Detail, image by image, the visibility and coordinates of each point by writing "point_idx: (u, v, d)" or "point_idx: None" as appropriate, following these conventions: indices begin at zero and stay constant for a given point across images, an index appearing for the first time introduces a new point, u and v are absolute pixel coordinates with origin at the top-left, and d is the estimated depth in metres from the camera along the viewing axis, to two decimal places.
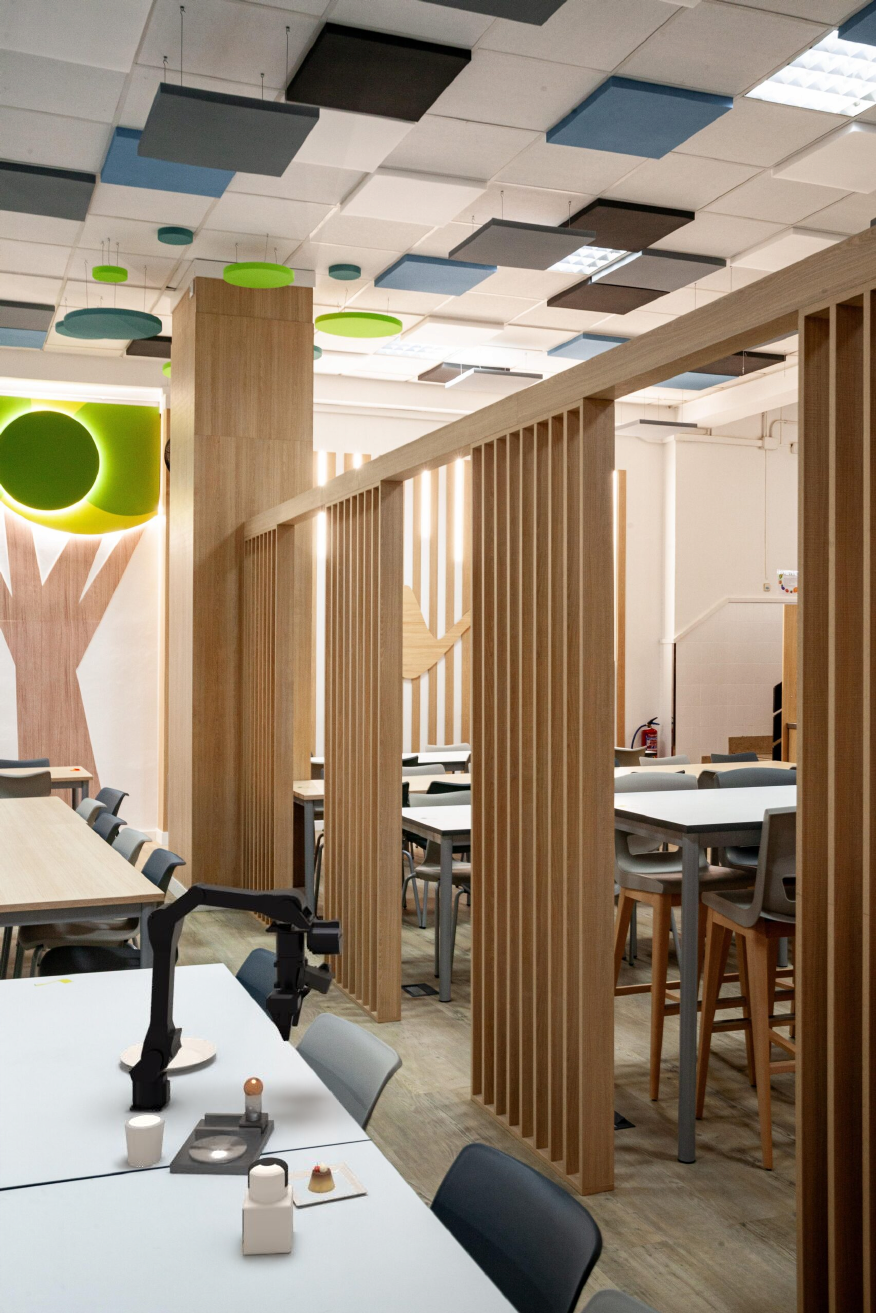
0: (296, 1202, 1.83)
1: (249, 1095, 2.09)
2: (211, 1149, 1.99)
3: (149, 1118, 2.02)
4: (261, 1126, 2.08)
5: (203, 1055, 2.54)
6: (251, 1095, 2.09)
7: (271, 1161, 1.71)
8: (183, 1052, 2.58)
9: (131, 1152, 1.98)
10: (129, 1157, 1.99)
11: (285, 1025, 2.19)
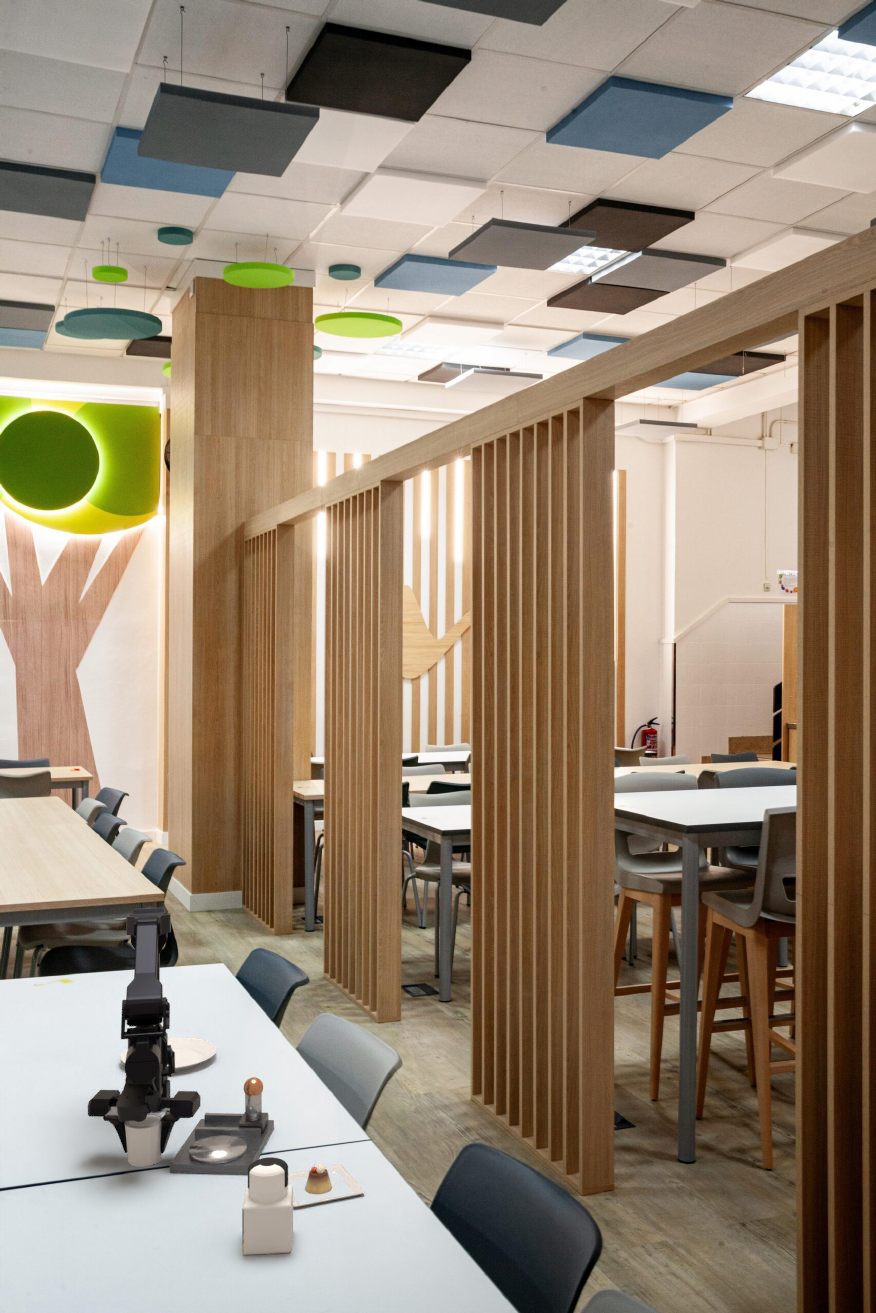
0: (293, 1203, 1.82)
1: (249, 1095, 2.09)
2: (211, 1149, 1.99)
3: (149, 1118, 2.02)
4: (261, 1126, 2.08)
5: (203, 1055, 2.54)
6: (251, 1095, 2.09)
7: (271, 1161, 1.71)
8: (183, 1052, 2.58)
9: (131, 1152, 1.98)
10: (129, 1157, 1.99)
11: None
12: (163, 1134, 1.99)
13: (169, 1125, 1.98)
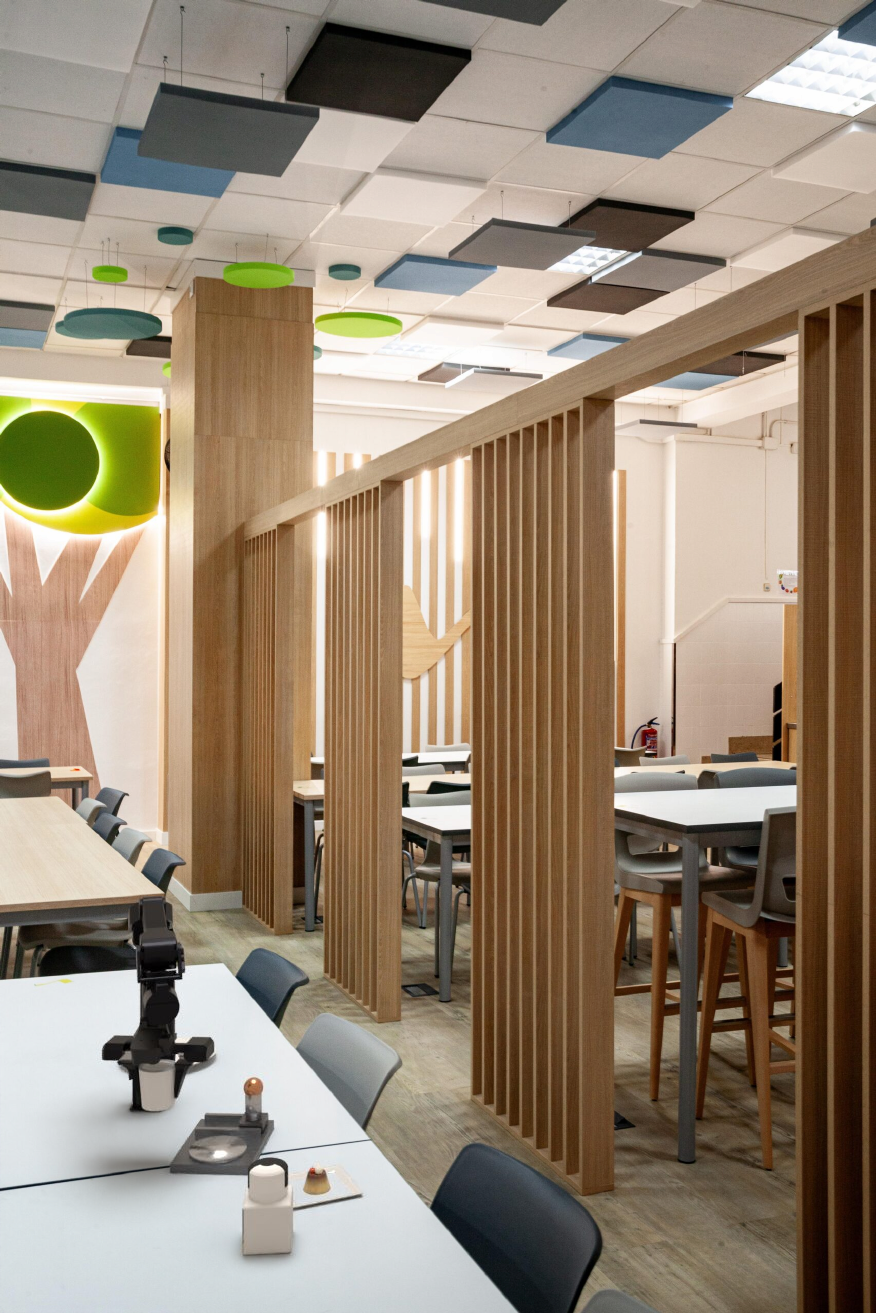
0: None
1: (249, 1095, 2.09)
2: (211, 1149, 1.99)
3: (163, 1063, 2.02)
4: (261, 1126, 2.08)
5: None
6: (251, 1095, 2.09)
7: (271, 1161, 1.71)
8: None
9: (145, 1096, 1.98)
10: (143, 1101, 1.99)
11: None
12: (177, 1079, 1.99)
13: (183, 1070, 1.98)
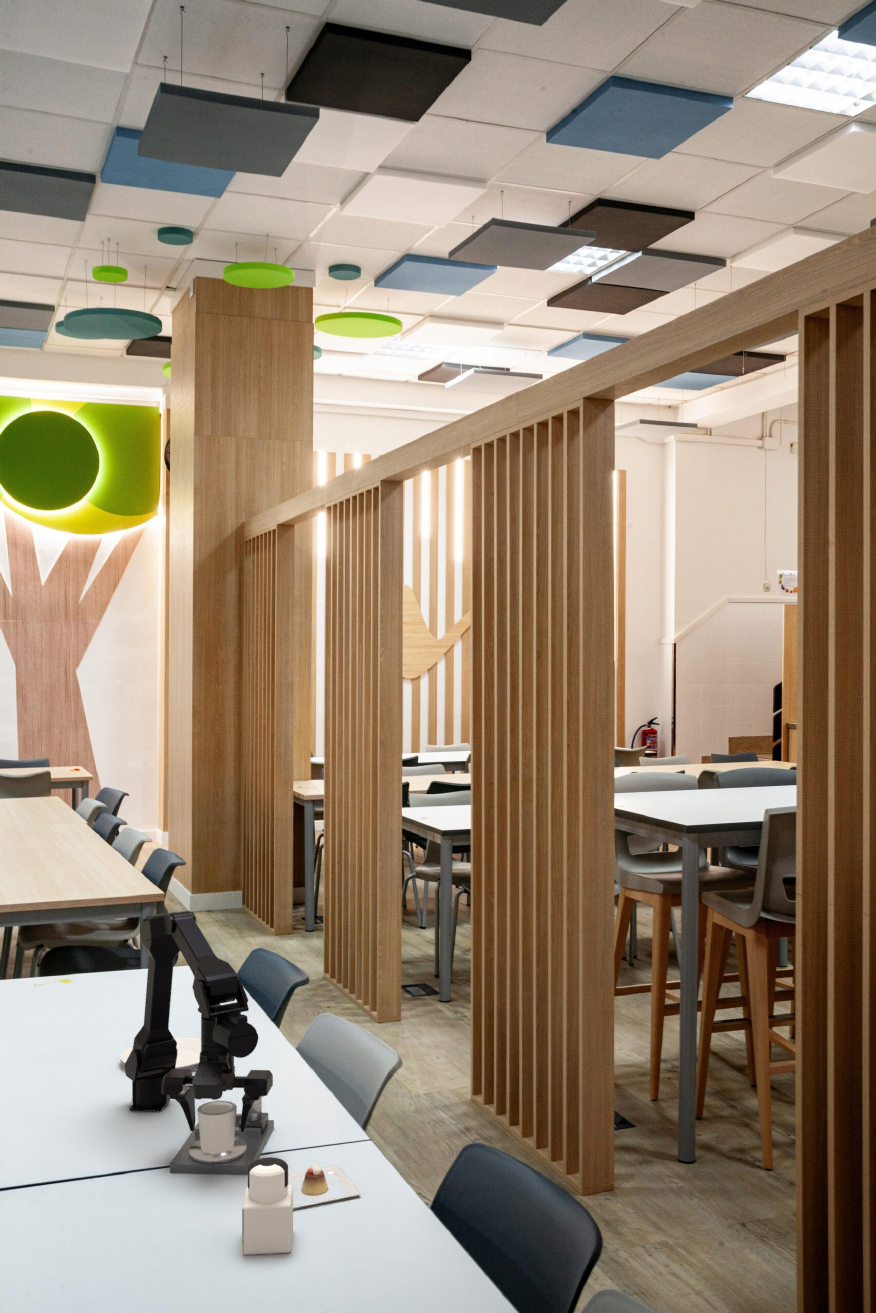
0: None
1: None
2: None
3: (221, 1105, 2.01)
4: (261, 1126, 2.08)
5: None
6: None
7: (271, 1161, 1.71)
8: (183, 1052, 2.58)
9: (204, 1139, 1.98)
10: (202, 1144, 1.98)
11: None
12: (244, 1113, 1.99)
13: (250, 1104, 1.98)
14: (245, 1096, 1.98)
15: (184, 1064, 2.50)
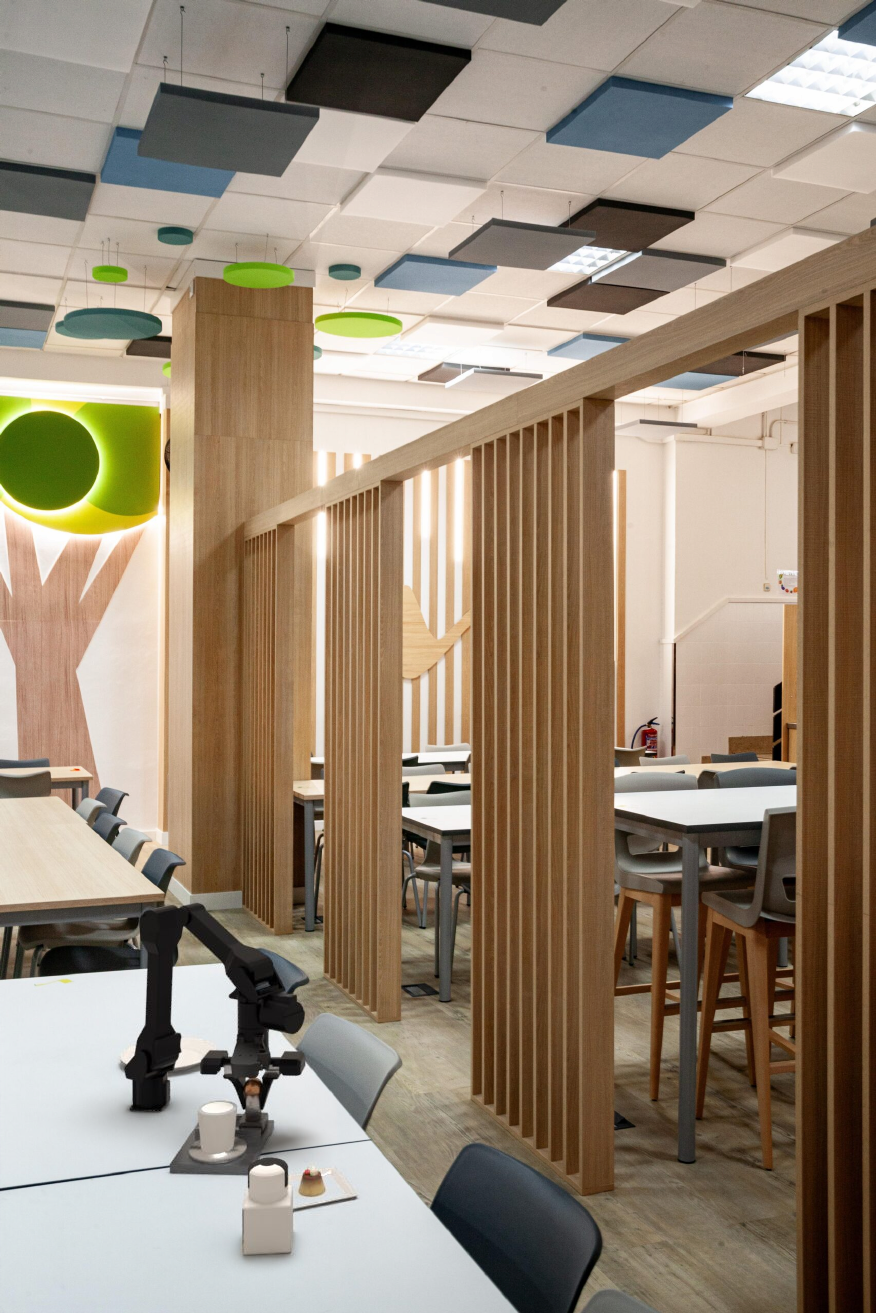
0: None
1: (249, 1095, 2.09)
2: None
3: (221, 1105, 2.01)
4: (261, 1126, 2.08)
5: (203, 1055, 2.54)
6: (251, 1095, 2.09)
7: (271, 1161, 1.71)
8: (183, 1052, 2.58)
9: (205, 1139, 1.98)
10: (202, 1144, 1.98)
11: None
12: (263, 1091, 2.09)
13: (269, 1083, 2.09)
14: (265, 1075, 2.08)
15: (184, 1064, 2.50)
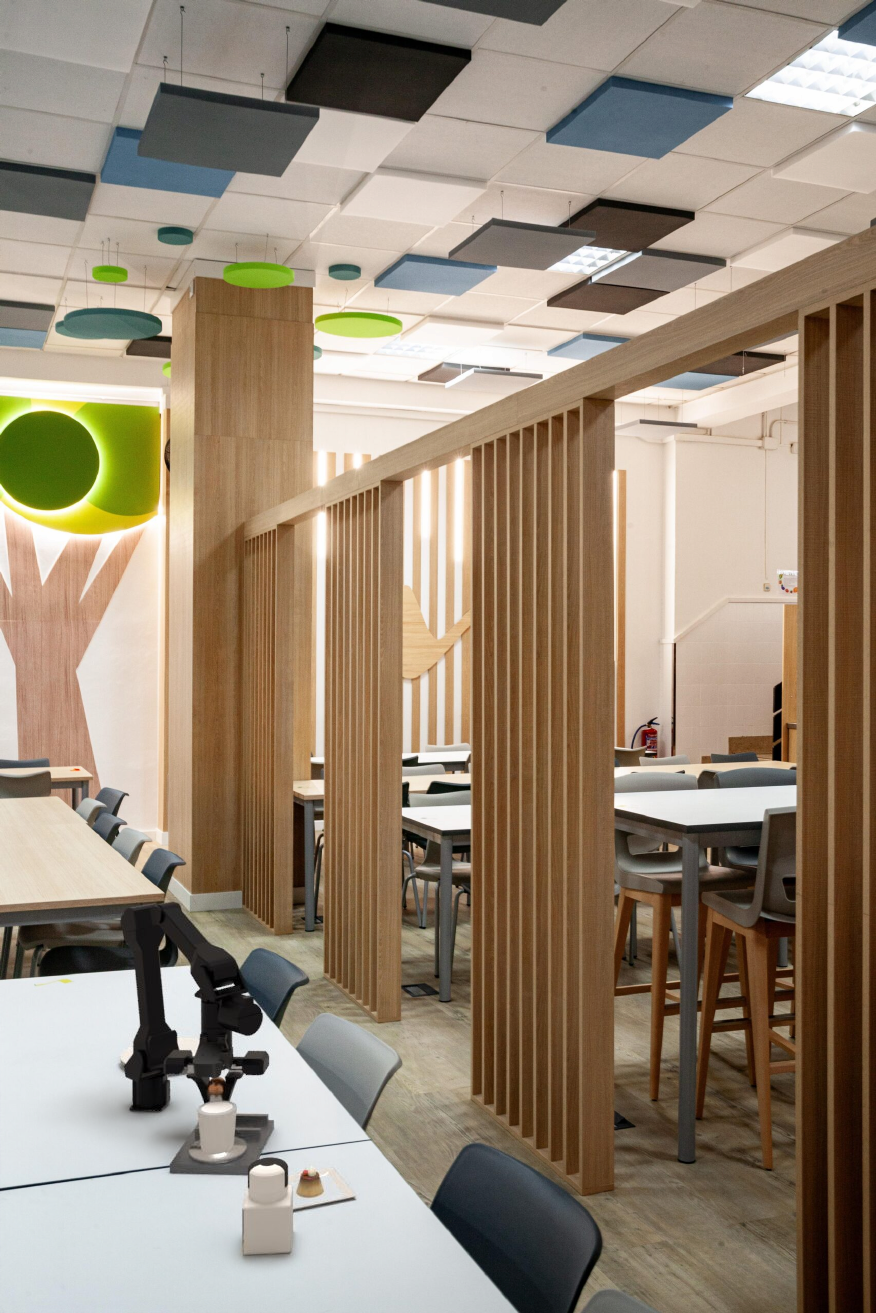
0: None
1: (212, 1094, 2.09)
2: None
3: (221, 1105, 2.01)
4: None
5: None
6: (214, 1095, 2.09)
7: (271, 1161, 1.71)
8: None
9: (205, 1139, 1.98)
10: (202, 1144, 1.98)
11: None
12: (227, 1091, 2.10)
13: (233, 1082, 2.09)
14: (228, 1075, 2.09)
15: None
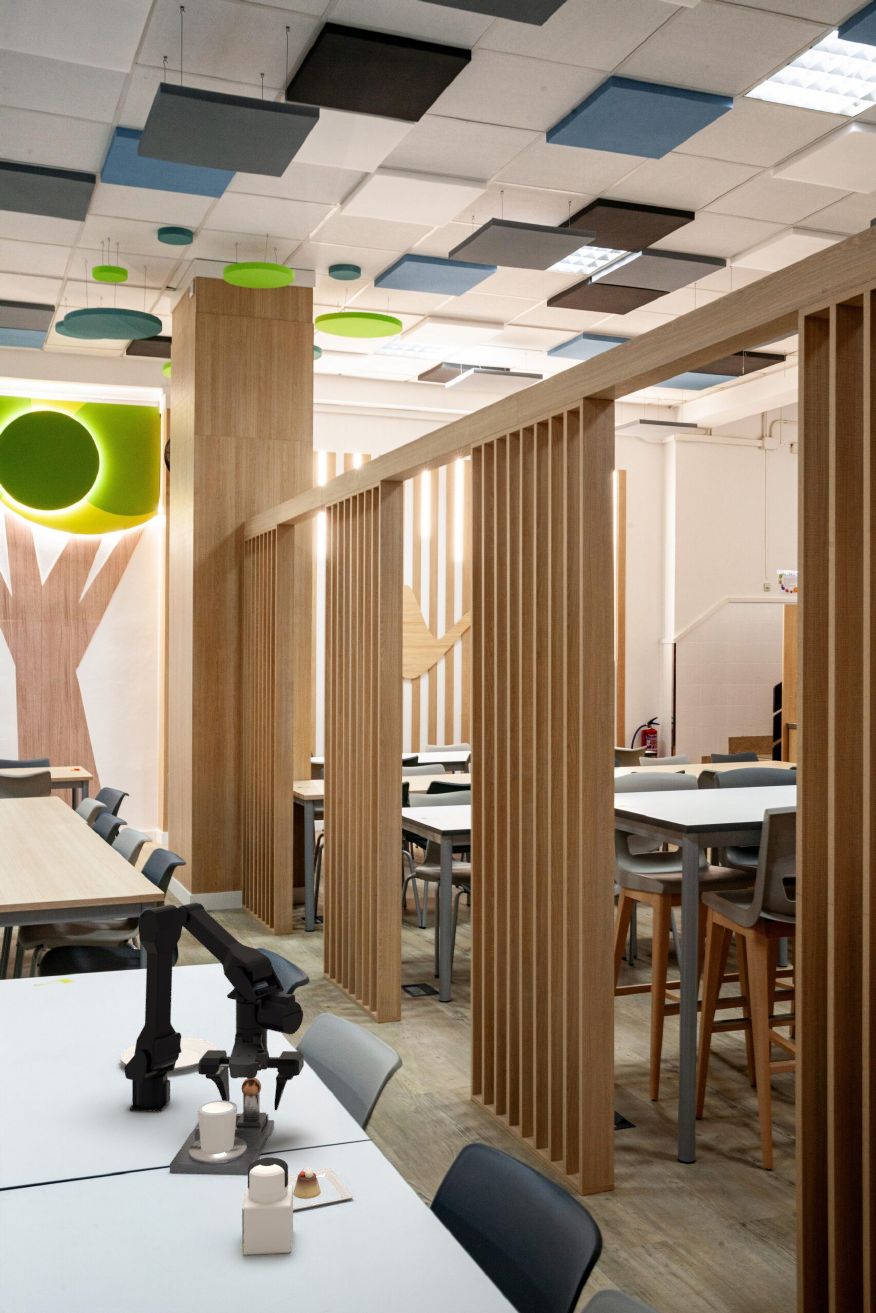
0: None
1: (247, 1095, 2.09)
2: None
3: (221, 1105, 2.01)
4: (259, 1126, 2.08)
5: None
6: (249, 1095, 2.09)
7: (271, 1161, 1.71)
8: (183, 1052, 2.58)
9: (205, 1139, 1.98)
10: (202, 1144, 1.98)
11: None
12: (277, 1092, 2.09)
13: (283, 1083, 2.08)
14: (279, 1076, 2.08)
15: (184, 1064, 2.50)
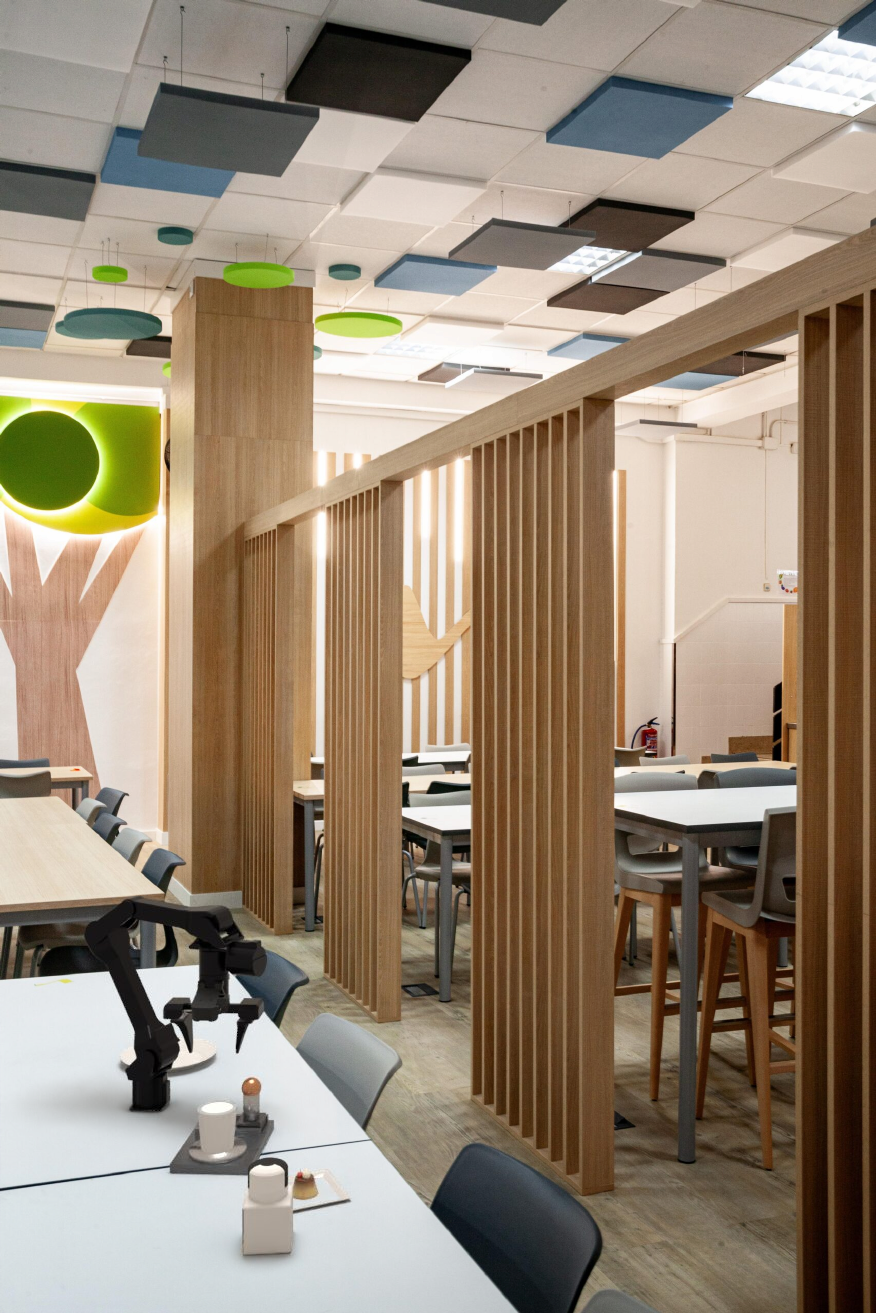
0: None
1: (247, 1095, 2.09)
2: None
3: (221, 1105, 2.01)
4: (259, 1126, 2.08)
5: (203, 1055, 2.54)
6: (249, 1095, 2.09)
7: (271, 1161, 1.71)
8: (183, 1052, 2.58)
9: (205, 1139, 1.98)
10: (202, 1144, 1.98)
11: None
12: (238, 1036, 2.20)
13: (244, 1027, 2.19)
14: (239, 1020, 2.19)
15: (184, 1064, 2.50)
